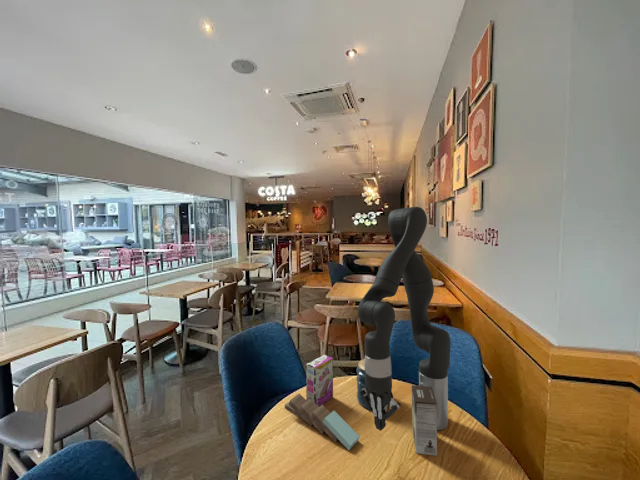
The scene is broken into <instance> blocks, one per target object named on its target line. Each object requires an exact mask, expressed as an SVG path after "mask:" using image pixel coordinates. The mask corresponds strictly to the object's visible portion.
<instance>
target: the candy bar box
mask: <svg viewBox="0 0 640 480" xmlns="http://www.w3.org/2000/svg"><path fill="white" fill-rule="evenodd" d="M305 371H306V372H305V374H306V375H305V376H306V377H305V379H306V381H305V382H306V383H305V384H306V386H305V387H306V388H305V389H306V390H305V393H306V396H305V399H306V400H307V401H308V400H309V399H311V400H312V401H313V402H314V403H315V404H316V405H317V406H318V407H320V406H321V405H323V406H324V404H327V402H328V401H330V400H331V399H332V398H334V357H331V356H329V355H327V354H323V355H321V356H319V357H317V358H315V359H313V360H311V361H309V362H307V363H306V364H305Z"/></svg>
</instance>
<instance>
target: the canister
mask: <svg viewBox="0 0 640 480" xmlns="http://www.w3.org/2000/svg"><path fill="white" fill-rule="evenodd" d="M357 365H358V366H357V368H356V374H357V375H356V390H357V391H356V398H357V402H358V403H359V405H360V406H362V407H363V408H365V409H368V408H367V407H366V405H365V403H364V401H363V399H362V397H361V395H360V393H359V391H361V390H362V389H363V388H365V387H366V384H365V358H363V359H361V360H360V361H359V362H358V364H357ZM369 404H370V402H369ZM370 406H371V404H370ZM388 406H390V403H389V404H388V405H387V407H388Z"/></svg>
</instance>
